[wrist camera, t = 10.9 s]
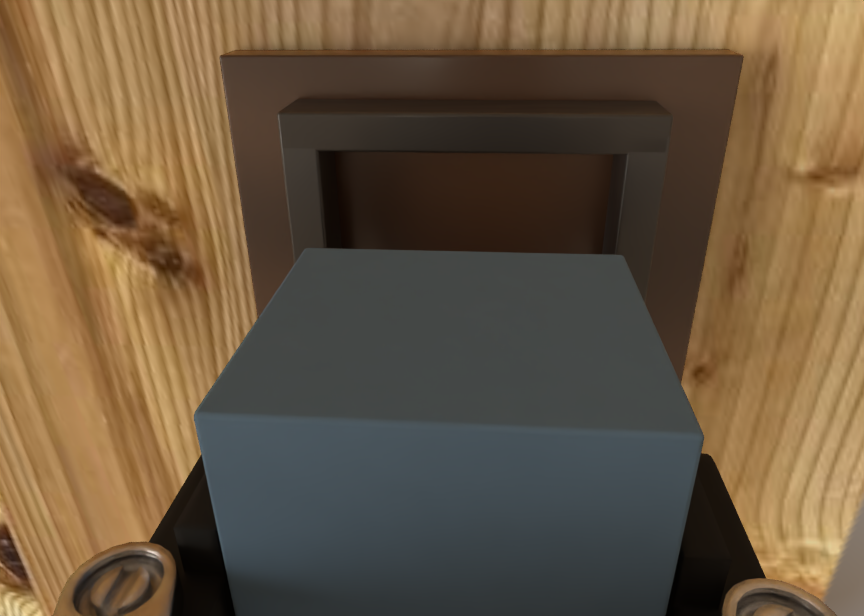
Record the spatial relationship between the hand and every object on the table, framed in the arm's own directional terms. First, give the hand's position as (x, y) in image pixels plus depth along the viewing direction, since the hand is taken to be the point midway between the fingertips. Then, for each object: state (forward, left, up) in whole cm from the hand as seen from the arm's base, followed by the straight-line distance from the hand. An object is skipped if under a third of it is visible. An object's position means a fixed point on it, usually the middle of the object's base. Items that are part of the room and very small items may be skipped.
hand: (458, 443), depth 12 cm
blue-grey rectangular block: (0, 0, 0) cm, 0 cm away
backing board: (+3, +2, -7) cm, 8 cm away
